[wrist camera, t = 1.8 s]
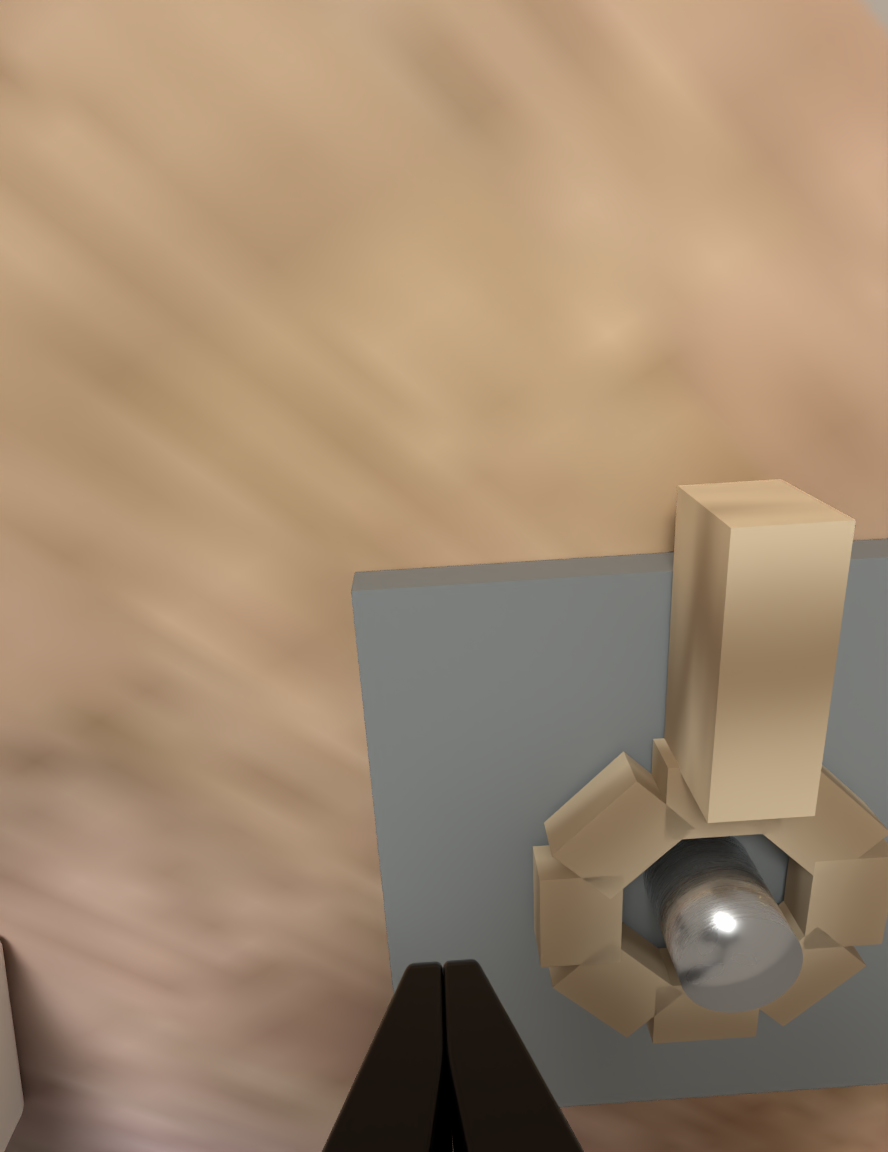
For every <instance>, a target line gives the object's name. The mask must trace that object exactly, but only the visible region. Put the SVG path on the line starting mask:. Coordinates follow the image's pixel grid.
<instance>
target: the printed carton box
mask: <svg viewBox="0 0 888 1152" xmlns="http://www.w3.org/2000/svg"><path fill="white" fill-rule="evenodd" d="M23 1108H24V1099H23V1092H22V1084H21V1077H20V1070H19V1063H18V1055H17V1048H16V1041H15V1034H14V1027H13V1019H12V1012H11V1005H10V998H9V990H8V983H7V976H6V969H5V961H4V954H3V947H2V943H1V941H0V1152H4V1151H5V1149H6V1147H7V1145H8V1143H9V1141H10V1138H11V1136H12V1134H13V1132H14V1130H15V1128H16V1126H17V1124H18V1121H19V1119H20V1117H21V1115H22V1112H23Z"/></svg>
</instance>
